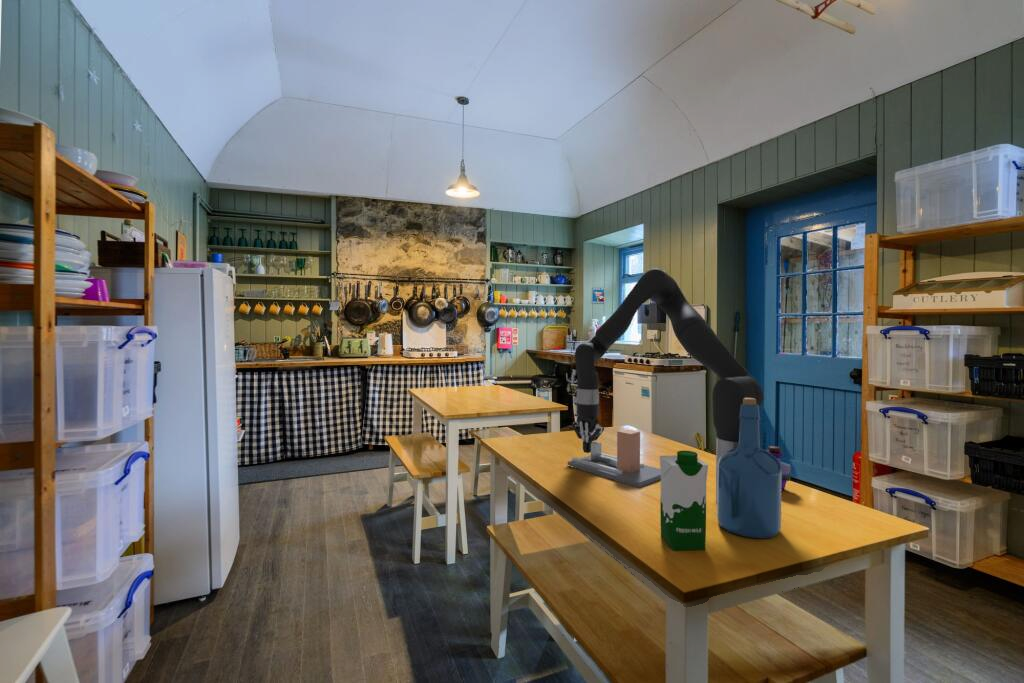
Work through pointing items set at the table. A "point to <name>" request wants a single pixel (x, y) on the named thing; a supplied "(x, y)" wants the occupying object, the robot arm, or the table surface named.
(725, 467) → the wine bottle
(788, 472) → the potion bottle
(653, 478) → the track
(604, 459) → the grey l-shaped rod
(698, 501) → the milk carton
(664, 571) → the table surface
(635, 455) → the block
